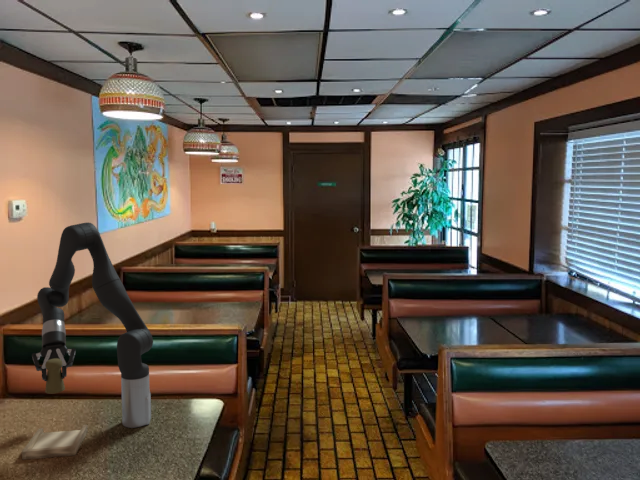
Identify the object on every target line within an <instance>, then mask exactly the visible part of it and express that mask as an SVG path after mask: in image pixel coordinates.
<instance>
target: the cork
mask: <svg viewBox="0 0 640 480" xmlns="http://www.w3.org/2000/svg"><path fill="white" fill-rule="evenodd" d="M45 367H46V369H47V381H45V390H44V392H45V393H46V394H48V395H49V394H50V395H51V394H52V395H53V394H54V395H55V394H59V393H62V392H64V391H65V389H66V386H65V382H64V379H62V360H61V359H58V358H55V359H50V360H48V361H47V362H46V364H45Z"/></svg>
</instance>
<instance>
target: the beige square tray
mask: <svg viewBox="0 0 640 480" xmlns="http://www.w3.org/2000/svg"><path fill="white" fill-rule="evenodd" d="M88 428H89V427H88V424H83V425H82V427H81V429H76V430H63V431H51V432H44V427H38V429H37V430H36V431H35V433H34V435H32V437H31V439H30V440H29V442H28V443H27V444H26V445H25V446H24V448H23V449H22V450H21V460H22V461H24V460H25V461H26V460H35V459H47V458H59V457H70V456H76V455H77V453H78V451H79V449H80V447H81V445H82V443H83V441H84V440H85V437H86V436H87V434H88V432H89V429H88Z"/></svg>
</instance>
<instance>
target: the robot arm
mask: <svg viewBox="0 0 640 480" xmlns="http://www.w3.org/2000/svg"><path fill="white" fill-rule="evenodd" d="M58 245H59V246H58V250H57V259H56V262H55V266H54V269H53V272H52V273H51V276H50V279H49V281H48V285H49V286H48V287H47V286H45V287H42V288H40V290H39V291H38V292H37V296H36V297H37V298H36V299H37V300H36V301H37V304H38V306H39V308H40V311H41V314H42V327H41V350H40V352H37V353H35V352H33V353H32V354H31V357H32V361H33V364H34V366H35V370H36V372H39V371H40V372H41V379H42V380H43V381H44V382H46V381H47V369H46V367H45V364H46V362H47V361H48V360H50V359H55V358H58V359H61V360H62V367H61V371H62V379H63V380H65V378H66V377H67V374H68V372H67V368H70V367H72V366H73V364H74V360H75V356H76V348H74V347H73V348H68V347H67V344H66V343H67V340H66V339H67V337H66V336H67V331H66V326H65V325H66V324H65V312H64V310H63V309H61V308H62V307H65V306H66V305H67V304H68V303H69V300H70V299H69V298H70V297H69V296H70V286H71V283H72V281H73V279H74V276H75V272H76V269H75V265H74V262H73V260H72V259H73V257H74V255H75V254H76V253H77V252H80V251H83V250H88V251H89V254H90V256H91V259H92V263H93V264H92V265H93V268H92V269H93V270H92V277H91V286H92V288H93V291H94V293H95V295H96V297H97V300H98V301H99V302H100V304H101V305H102V306H103V308H105V309H106V310H107V311H108V312H109V313H111V314H112V315H114V316H115V317H116V318H117V319H118V320H119V321H120V322H121V324H122V325H123V327H124V328H125V331H126V332H123V333H122V334H121V335H120V336H119V337H118V339H117V341H116V353H117V355H116V356H117V366H118V370H119V371H120V379H121V381H120V383H121V413H122V414H121V415H122V416H121V421H122V425H123V427H125V428H129V429H130V428H132V429H133V428H140V427H143V426H147V425H150V423H151V419H152V402H151V401H152V399H151V398H152V397H151V396H152V393H151V391H150V367H149V365H148V364H146V363H144V362H142V355H143V354H146V353H147V352H149V351H150V350H151V349H152V347H153V345H154V339H153V335H152V333H151V331H150V329H149V328H148V327H147V325H146V324H145V322H144V320H143V319H142V317H141V315H140V314H139V312H138V310H137V309H136V308H135V305H134V304H133V302H132V300H131V298H130V296H129V294H128V292H127V290H126V288H125V286H124V284H123V282H122V280H121V278H120V277H119V274H118V273H117V271H116V269H115V267H114V265H113V263H112V261H111V258H110V256H109V253H108V252H107V248H106V247H105V244H104V241H103V238H102V236H101V234H100V232H99V230H98V228H97V227H96V225H95V224H93V223H91V222H82V223H78V224H72V225H67V226H65V228H64V229H63V230H62V232H61V236H60V239H59V244H58ZM67 354H68V356H69V357H68V361H66V360H65V358H64V357H65V356H66V355H67ZM41 357H42V358H43V359H44V360H43V363H42V365H40V363H39V360H40V358H41Z"/></svg>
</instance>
